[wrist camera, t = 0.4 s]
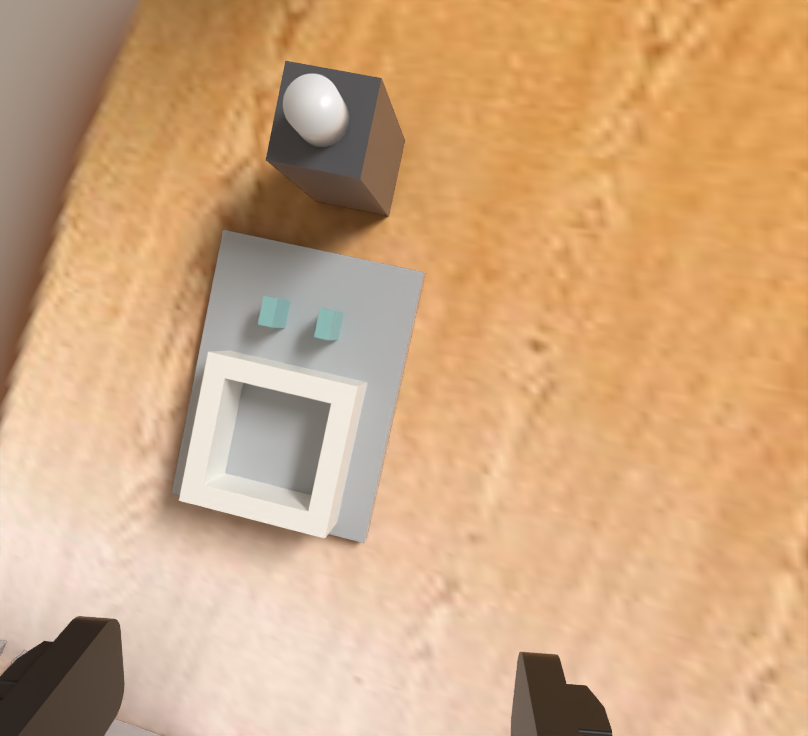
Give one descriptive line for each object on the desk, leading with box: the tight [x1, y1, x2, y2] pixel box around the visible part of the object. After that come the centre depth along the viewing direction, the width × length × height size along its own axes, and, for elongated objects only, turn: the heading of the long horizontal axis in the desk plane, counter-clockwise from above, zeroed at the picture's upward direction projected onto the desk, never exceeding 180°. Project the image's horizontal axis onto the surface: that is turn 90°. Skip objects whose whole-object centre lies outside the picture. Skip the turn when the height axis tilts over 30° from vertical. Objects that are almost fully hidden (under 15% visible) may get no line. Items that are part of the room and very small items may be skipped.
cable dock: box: [172, 230, 425, 543], centre depth 36 cm, size 16×12×4 cm
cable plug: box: [266, 61, 405, 216], centre depth 32 cm, size 4×4×11 cm
